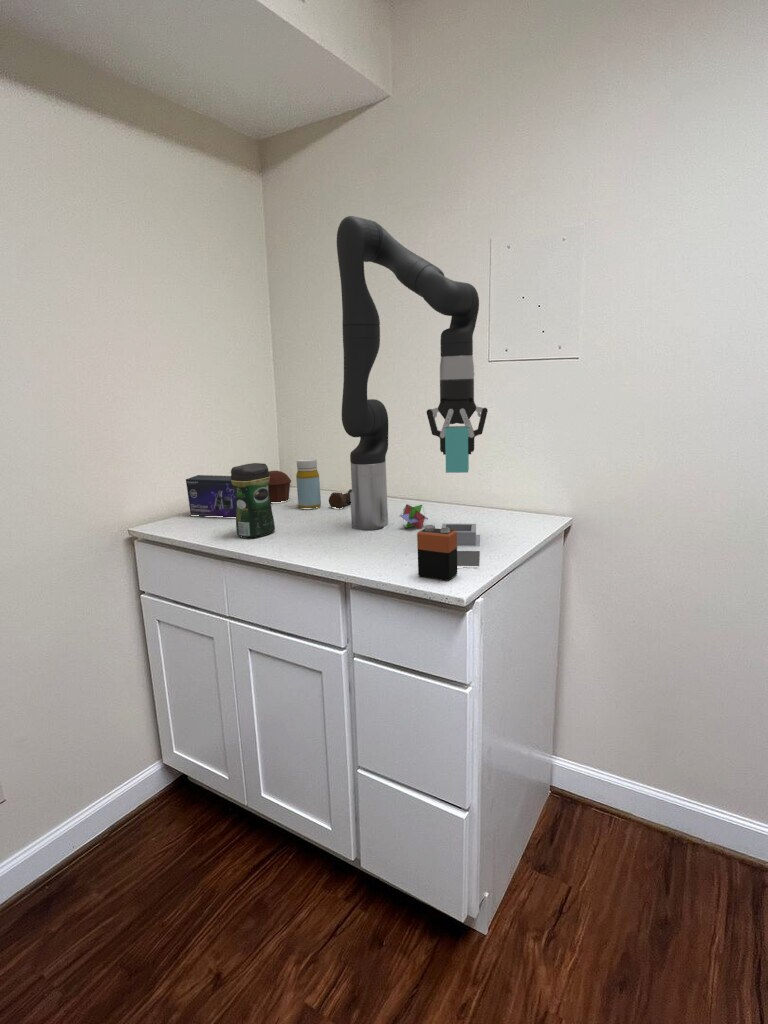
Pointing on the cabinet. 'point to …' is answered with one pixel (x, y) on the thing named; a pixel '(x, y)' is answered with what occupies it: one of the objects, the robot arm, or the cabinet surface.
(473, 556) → the mat
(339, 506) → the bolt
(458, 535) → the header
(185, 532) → the cabinet surface
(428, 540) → the battery
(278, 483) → the muffin
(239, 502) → the coffee jar
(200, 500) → the box
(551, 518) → the cabinet surface
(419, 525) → the geometric puzzle
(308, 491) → the bottle
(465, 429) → the teal block
